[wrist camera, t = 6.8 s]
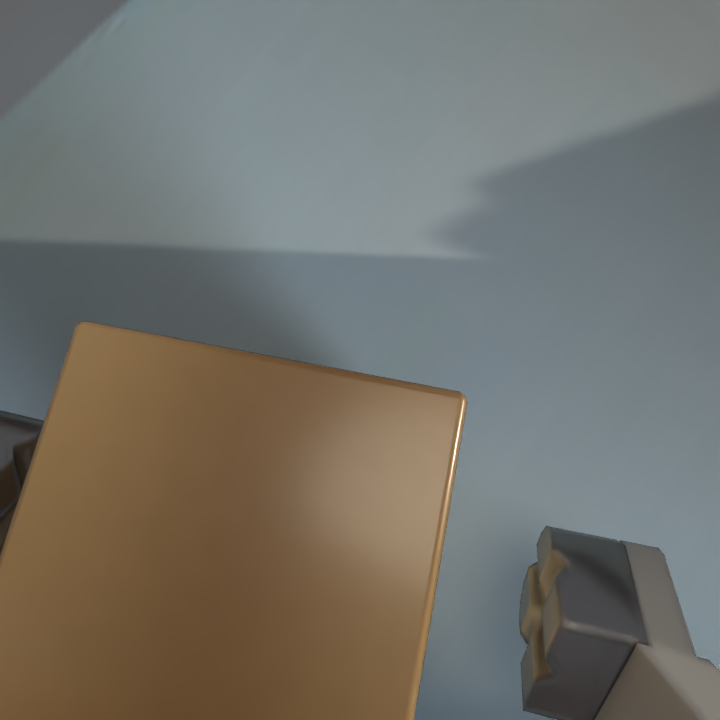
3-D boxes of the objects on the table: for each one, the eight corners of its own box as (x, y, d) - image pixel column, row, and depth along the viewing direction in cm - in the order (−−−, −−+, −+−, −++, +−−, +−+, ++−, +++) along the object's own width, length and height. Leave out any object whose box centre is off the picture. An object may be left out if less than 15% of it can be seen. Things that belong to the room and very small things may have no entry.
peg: (209, 610, 13) (-69, 752, 5) (254, 426, 14) (74, 316, 6) (394, 654, 13) (387, 879, 5) (429, 462, 13) (470, 390, 6)
